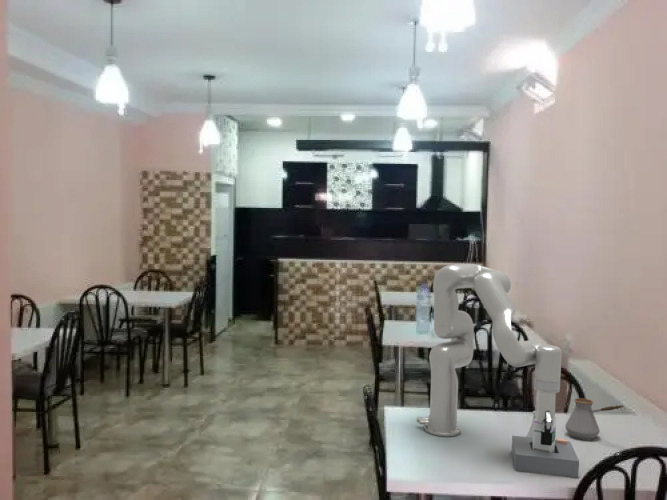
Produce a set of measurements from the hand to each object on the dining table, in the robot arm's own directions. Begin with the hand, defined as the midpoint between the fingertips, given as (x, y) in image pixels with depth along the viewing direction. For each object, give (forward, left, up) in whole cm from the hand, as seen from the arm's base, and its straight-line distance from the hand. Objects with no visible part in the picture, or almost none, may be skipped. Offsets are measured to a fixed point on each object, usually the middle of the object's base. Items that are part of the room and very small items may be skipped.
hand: (544, 439), depth 200 cm
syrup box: (0, 0, -8) cm, 8 cm away
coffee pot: (+20, +29, -8) cm, 36 cm away
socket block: (0, 0, -7) cm, 7 cm away
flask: (0, +22, -8) cm, 23 cm away
